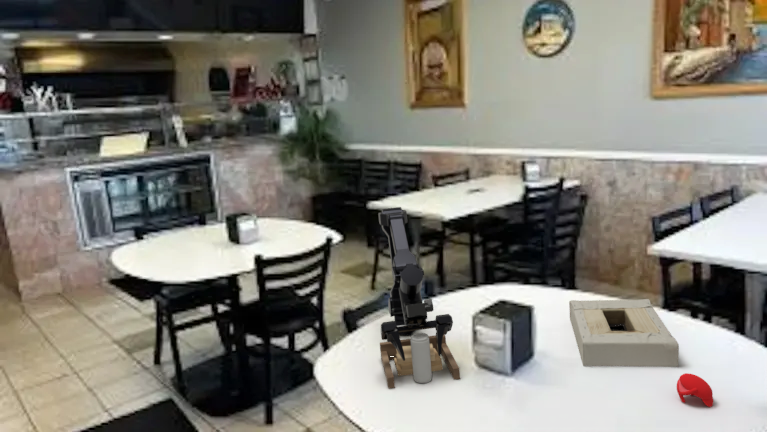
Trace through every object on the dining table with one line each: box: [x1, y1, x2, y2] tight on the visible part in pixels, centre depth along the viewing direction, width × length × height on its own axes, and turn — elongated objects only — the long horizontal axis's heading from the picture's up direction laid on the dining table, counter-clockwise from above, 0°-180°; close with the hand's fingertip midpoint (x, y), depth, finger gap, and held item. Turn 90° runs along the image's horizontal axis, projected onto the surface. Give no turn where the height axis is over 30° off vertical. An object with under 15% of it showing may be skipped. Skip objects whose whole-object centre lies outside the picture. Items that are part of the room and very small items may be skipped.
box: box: [568, 298, 680, 368], centre depth 165 cm, size 23×8×32 cm
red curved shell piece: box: [676, 372, 714, 408], centre depth 132 cm, size 8×6×6 cm
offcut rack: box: [379, 334, 461, 389], centre depth 160 cm, size 18×19×5 cm
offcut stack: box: [393, 344, 443, 377], centre depth 161 cm, size 9×12×4 cm
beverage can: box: [410, 332, 433, 384], centre depth 153 cm, size 5×5×12 cm
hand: (422, 357), depth 151 cm, fingers open, 9 cm apart
